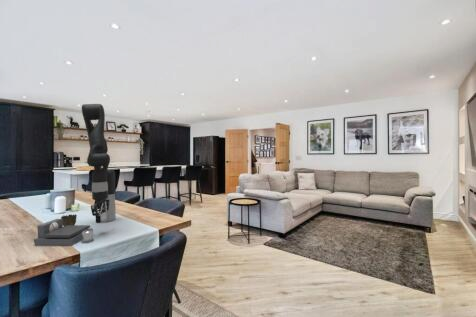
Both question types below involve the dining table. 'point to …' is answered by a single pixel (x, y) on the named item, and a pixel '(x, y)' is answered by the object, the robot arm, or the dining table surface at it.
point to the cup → (69, 219)
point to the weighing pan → (67, 231)
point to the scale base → (55, 241)
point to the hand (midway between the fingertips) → (101, 220)
